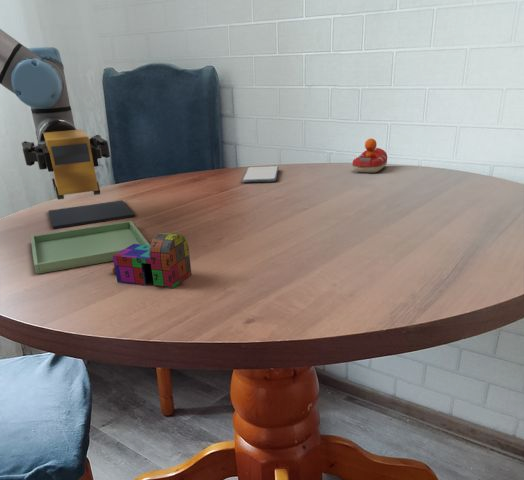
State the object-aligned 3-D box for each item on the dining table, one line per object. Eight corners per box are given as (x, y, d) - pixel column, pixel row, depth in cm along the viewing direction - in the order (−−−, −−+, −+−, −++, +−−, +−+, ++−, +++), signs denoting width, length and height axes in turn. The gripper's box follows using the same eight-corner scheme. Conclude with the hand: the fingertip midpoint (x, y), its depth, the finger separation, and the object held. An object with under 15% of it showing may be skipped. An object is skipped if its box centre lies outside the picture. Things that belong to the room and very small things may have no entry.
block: (199, 268, 82) (194, 224, 79) (172, 288, 76) (166, 241, 72) (132, 261, 86) (125, 219, 83) (102, 280, 80) (93, 235, 77)
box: (36, 274, 84) (33, 264, 83) (32, 244, 98) (30, 235, 97) (151, 254, 89) (150, 245, 89) (132, 228, 103) (131, 220, 103)
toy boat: (389, 165, 144) (391, 135, 140) (378, 174, 135) (380, 142, 131) (361, 164, 147) (362, 135, 143) (349, 173, 138) (350, 141, 134)
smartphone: (242, 179, 133) (247, 166, 146) (242, 183, 134) (248, 170, 146) (275, 178, 132) (278, 165, 145) (275, 182, 133) (278, 169, 146)
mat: (53, 228, 106) (52, 226, 106) (48, 212, 117) (48, 210, 117) (134, 216, 111) (133, 214, 111) (122, 202, 122) (122, 200, 122)
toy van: (58, 202, 83) (44, 140, 79) (53, 188, 93) (41, 132, 88) (102, 197, 86) (90, 136, 81) (93, 184, 95) (82, 129, 90)
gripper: (115, 157, 106) (138, 177, 87) (11, 168, 100) (12, 192, 81) (108, 115, 102) (130, 127, 83) (0, 124, 96) (-2, 139, 77)
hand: (72, 159), depth 82 cm, fingers closed on toy van, 6 cm apart
